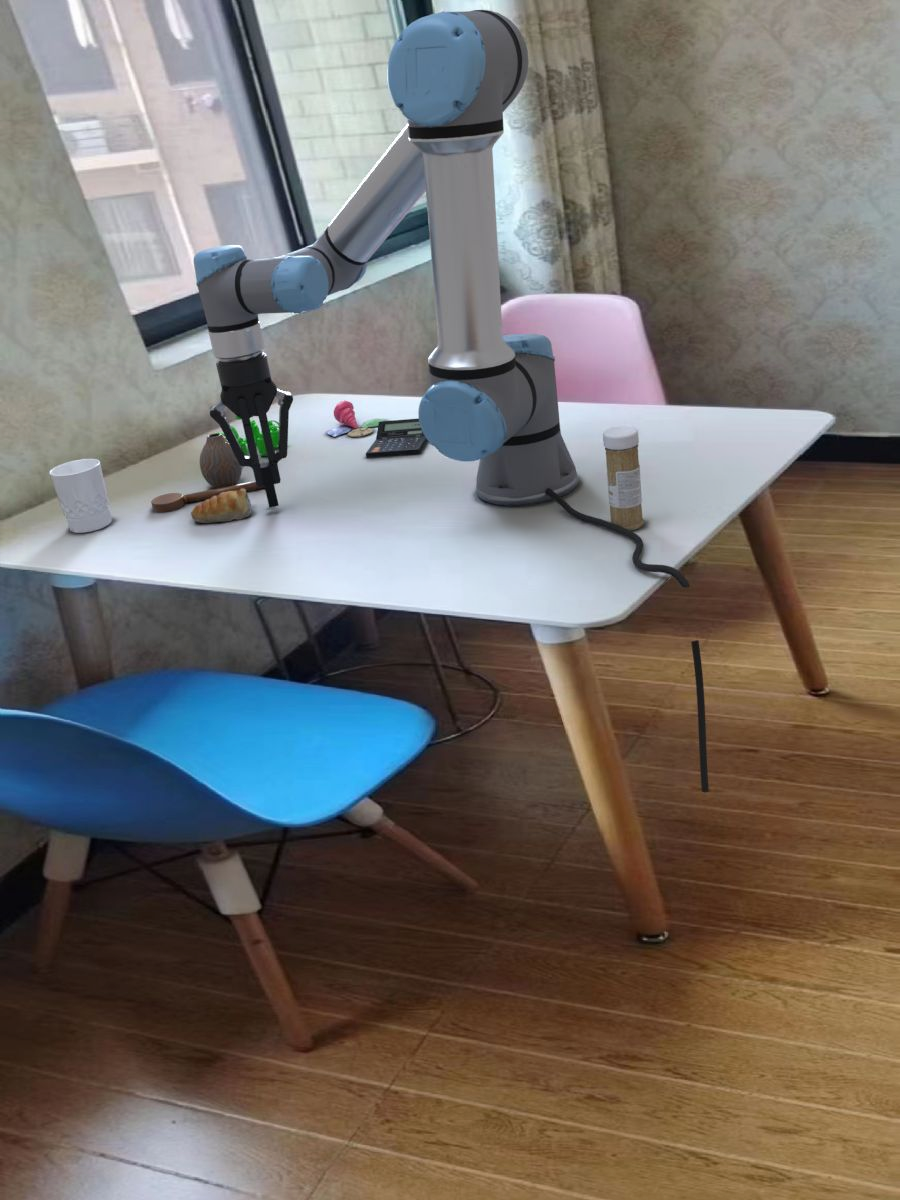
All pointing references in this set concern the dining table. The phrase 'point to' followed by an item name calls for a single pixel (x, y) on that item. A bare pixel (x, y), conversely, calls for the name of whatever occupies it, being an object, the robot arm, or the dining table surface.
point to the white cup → (82, 494)
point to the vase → (219, 462)
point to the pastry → (223, 507)
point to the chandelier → (258, 436)
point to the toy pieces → (350, 421)
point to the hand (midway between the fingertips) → (273, 504)
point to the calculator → (397, 439)
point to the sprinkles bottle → (623, 476)
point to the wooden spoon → (195, 497)
